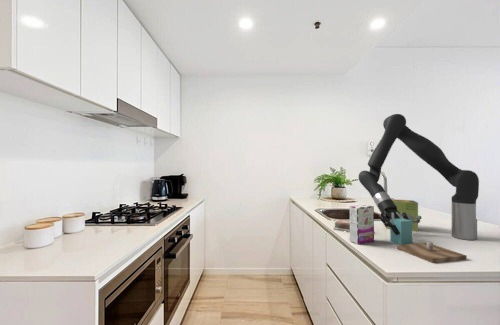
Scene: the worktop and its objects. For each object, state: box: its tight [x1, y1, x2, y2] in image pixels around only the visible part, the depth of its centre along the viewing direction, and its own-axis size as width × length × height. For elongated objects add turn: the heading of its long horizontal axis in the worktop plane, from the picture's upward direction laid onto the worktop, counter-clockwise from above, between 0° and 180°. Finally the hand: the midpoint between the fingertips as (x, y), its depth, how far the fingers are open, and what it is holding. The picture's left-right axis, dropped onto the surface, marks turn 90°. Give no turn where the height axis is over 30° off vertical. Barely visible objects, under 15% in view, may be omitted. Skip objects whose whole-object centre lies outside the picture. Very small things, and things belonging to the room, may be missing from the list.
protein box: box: [384, 198, 419, 232], centre depth 143 cm, size 10×15×16 cm
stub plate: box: [396, 241, 468, 264], centre depth 101 cm, size 16×16×4 cm
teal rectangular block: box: [389, 218, 413, 245], centre depth 114 cm, size 6×6×11 cm
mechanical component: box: [407, 214, 422, 226], centre depth 129 cm, size 3×10×10 cm, turn 79°
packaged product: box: [333, 220, 350, 233], centre depth 136 cm, size 18×5×10 cm
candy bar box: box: [349, 204, 375, 245], centre depth 117 cm, size 11×5×16 cm, turn 117°
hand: (404, 233), depth 113 cm, fingers closed on teal rectangular block, 6 cm apart
